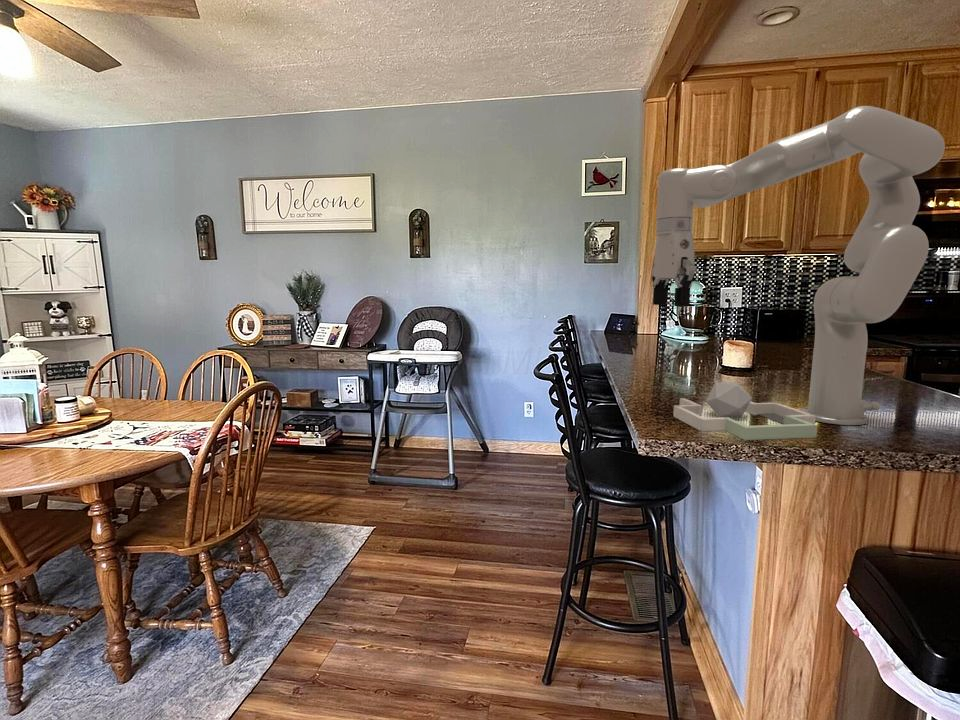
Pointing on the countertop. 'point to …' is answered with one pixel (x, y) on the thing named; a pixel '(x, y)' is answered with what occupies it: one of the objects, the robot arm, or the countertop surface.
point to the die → (728, 399)
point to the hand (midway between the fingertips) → (670, 305)
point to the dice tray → (792, 420)
